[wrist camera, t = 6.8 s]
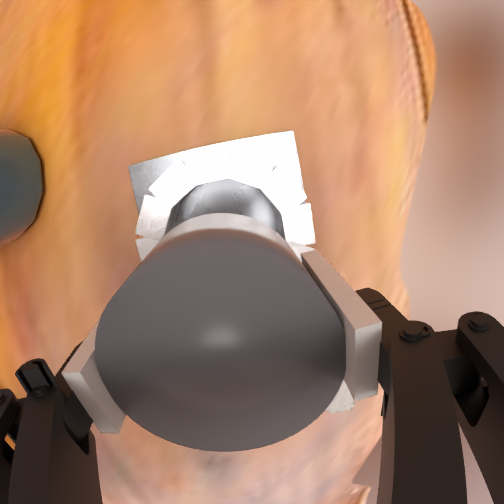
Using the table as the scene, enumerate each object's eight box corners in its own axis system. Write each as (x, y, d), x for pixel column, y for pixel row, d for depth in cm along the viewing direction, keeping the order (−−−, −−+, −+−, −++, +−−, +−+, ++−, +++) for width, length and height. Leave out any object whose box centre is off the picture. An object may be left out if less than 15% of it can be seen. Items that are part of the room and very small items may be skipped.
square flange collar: (170, 312, 31) (159, 341, 26) (130, 166, 27) (108, 167, 21) (315, 283, 32) (331, 308, 26) (291, 131, 27) (306, 123, 21)
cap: (171, 368, 15) (151, 456, 9) (123, 233, 13) (56, 284, 7) (311, 343, 15) (346, 428, 9) (290, 197, 13) (339, 225, 7)
